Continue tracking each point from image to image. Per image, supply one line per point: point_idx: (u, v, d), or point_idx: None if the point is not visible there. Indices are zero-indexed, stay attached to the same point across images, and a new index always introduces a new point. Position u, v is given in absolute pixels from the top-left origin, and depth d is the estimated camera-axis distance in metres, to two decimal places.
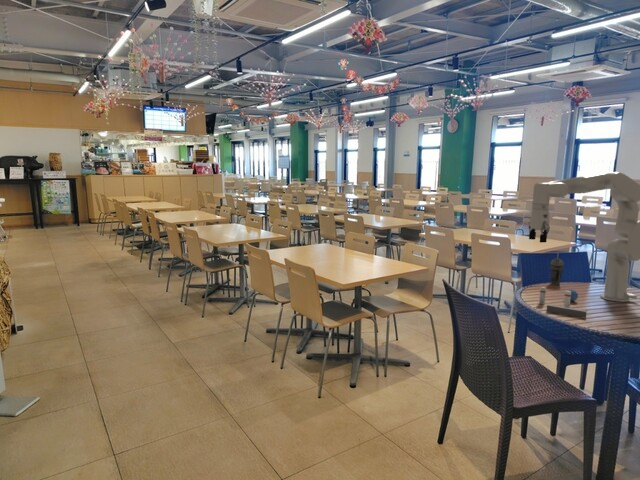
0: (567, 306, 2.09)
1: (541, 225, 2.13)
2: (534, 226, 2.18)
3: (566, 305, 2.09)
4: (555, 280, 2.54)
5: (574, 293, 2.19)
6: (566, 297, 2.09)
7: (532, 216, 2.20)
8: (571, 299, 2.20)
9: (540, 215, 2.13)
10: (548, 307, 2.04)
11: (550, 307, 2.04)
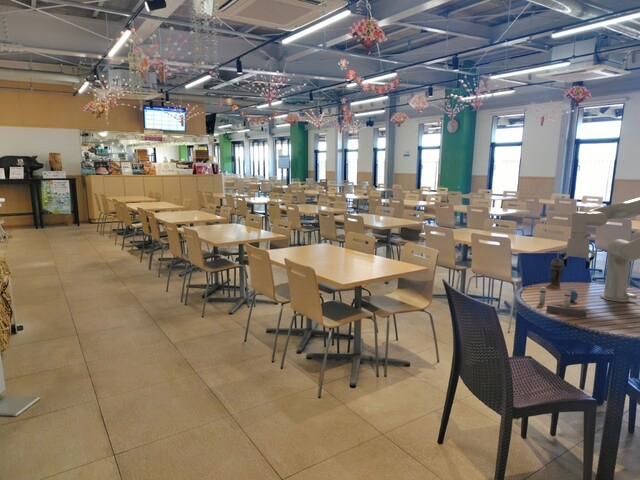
0: (567, 306, 2.09)
1: (588, 253, 2.22)
2: (576, 254, 2.25)
3: (566, 305, 2.09)
4: (555, 280, 2.54)
5: (574, 293, 2.19)
6: (566, 297, 2.09)
7: (572, 244, 2.25)
8: (571, 299, 2.20)
9: (586, 243, 2.21)
10: (548, 307, 2.04)
11: (550, 307, 2.04)
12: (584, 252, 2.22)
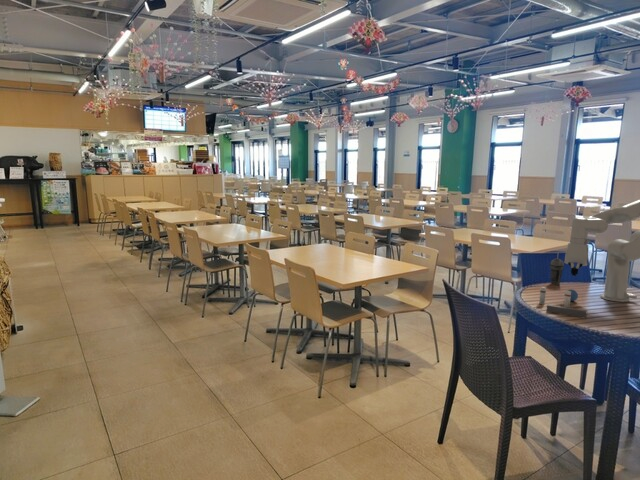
0: (567, 306, 2.09)
1: (583, 262, 2.24)
2: (575, 260, 2.25)
3: (566, 305, 2.09)
4: (555, 280, 2.54)
5: (574, 293, 2.19)
6: (566, 297, 2.09)
7: (571, 250, 2.26)
8: (571, 299, 2.20)
9: (586, 249, 2.22)
10: (548, 307, 2.04)
11: (550, 307, 2.04)
12: (583, 258, 2.23)
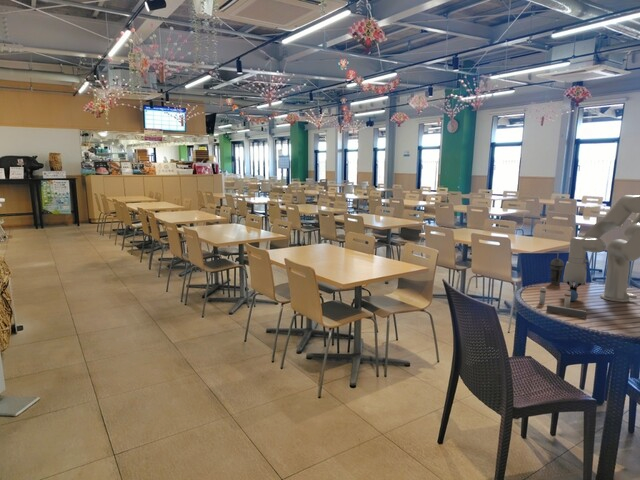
0: (567, 306, 2.09)
1: None
2: (573, 279, 2.26)
3: (566, 305, 2.09)
4: (555, 280, 2.54)
5: (574, 293, 2.19)
6: (566, 297, 2.09)
7: (569, 269, 2.27)
8: (571, 299, 2.20)
9: (584, 269, 2.23)
10: (548, 307, 2.04)
11: (550, 307, 2.04)
12: (581, 277, 2.24)
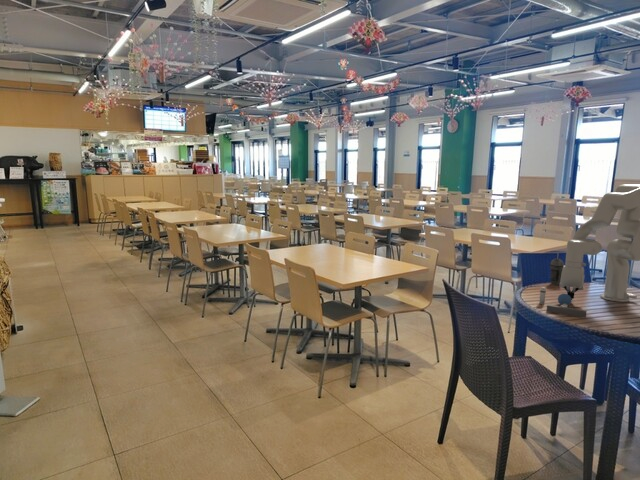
0: None
1: None
2: (571, 284, 2.17)
3: None
4: (555, 280, 2.54)
5: None
6: None
7: (566, 274, 2.17)
8: None
9: (581, 273, 2.14)
10: (548, 307, 2.04)
11: (550, 307, 2.04)
12: (579, 282, 2.15)
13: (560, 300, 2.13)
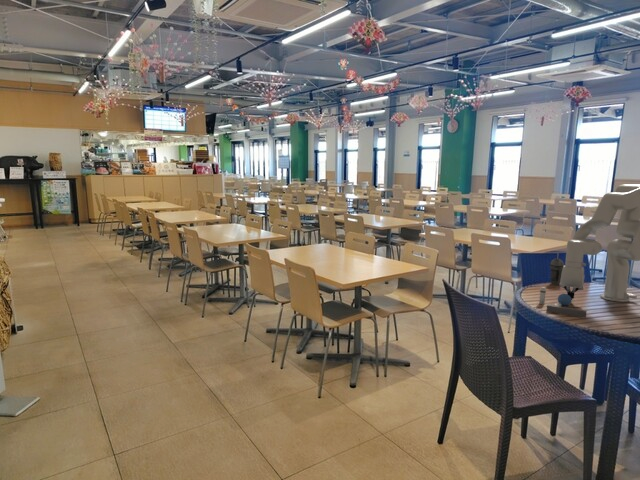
0: (558, 303, 2.11)
1: None
2: (571, 284, 2.17)
3: (558, 303, 2.10)
4: (555, 280, 2.54)
5: None
6: (556, 305, 2.07)
7: (566, 274, 2.17)
8: None
9: (581, 273, 2.14)
10: (548, 307, 2.04)
11: (550, 307, 2.04)
12: (579, 282, 2.15)
13: (560, 300, 2.13)
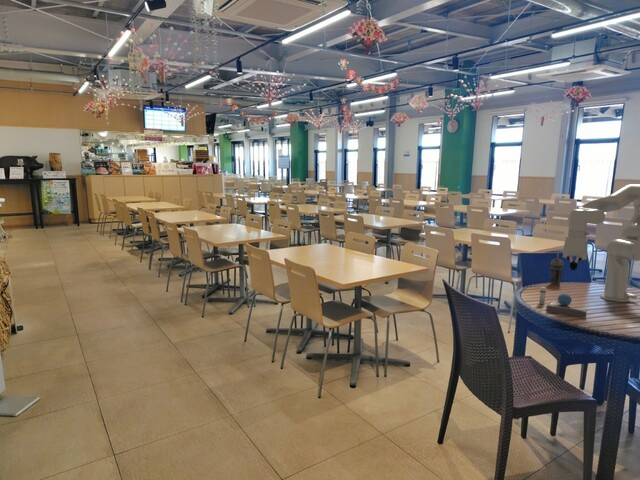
0: None
1: (582, 256, 2.13)
2: (574, 253, 2.14)
3: None
4: (555, 280, 2.54)
5: None
6: (548, 304, 2.10)
7: (570, 243, 2.15)
8: None
9: (585, 242, 2.11)
10: (548, 307, 2.04)
11: (550, 307, 2.04)
12: (582, 251, 2.12)
13: (560, 300, 2.13)
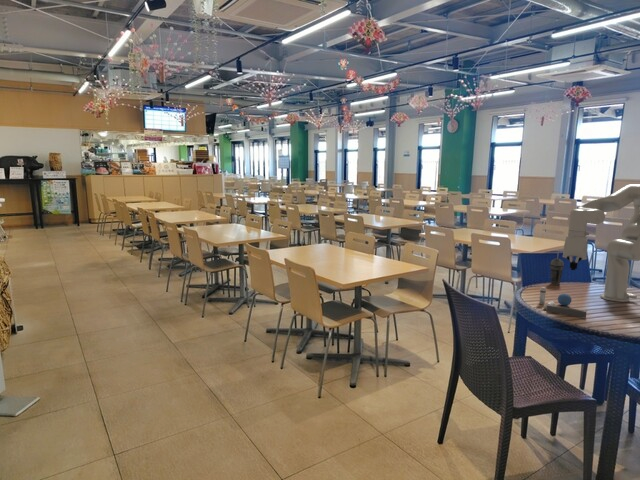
0: None
1: (582, 256, 2.13)
2: (574, 253, 2.14)
3: None
4: (555, 280, 2.54)
5: None
6: None
7: (570, 243, 2.15)
8: None
9: (585, 242, 2.11)
10: (548, 307, 2.04)
11: (550, 307, 2.04)
12: (582, 251, 2.12)
13: (560, 300, 2.13)
